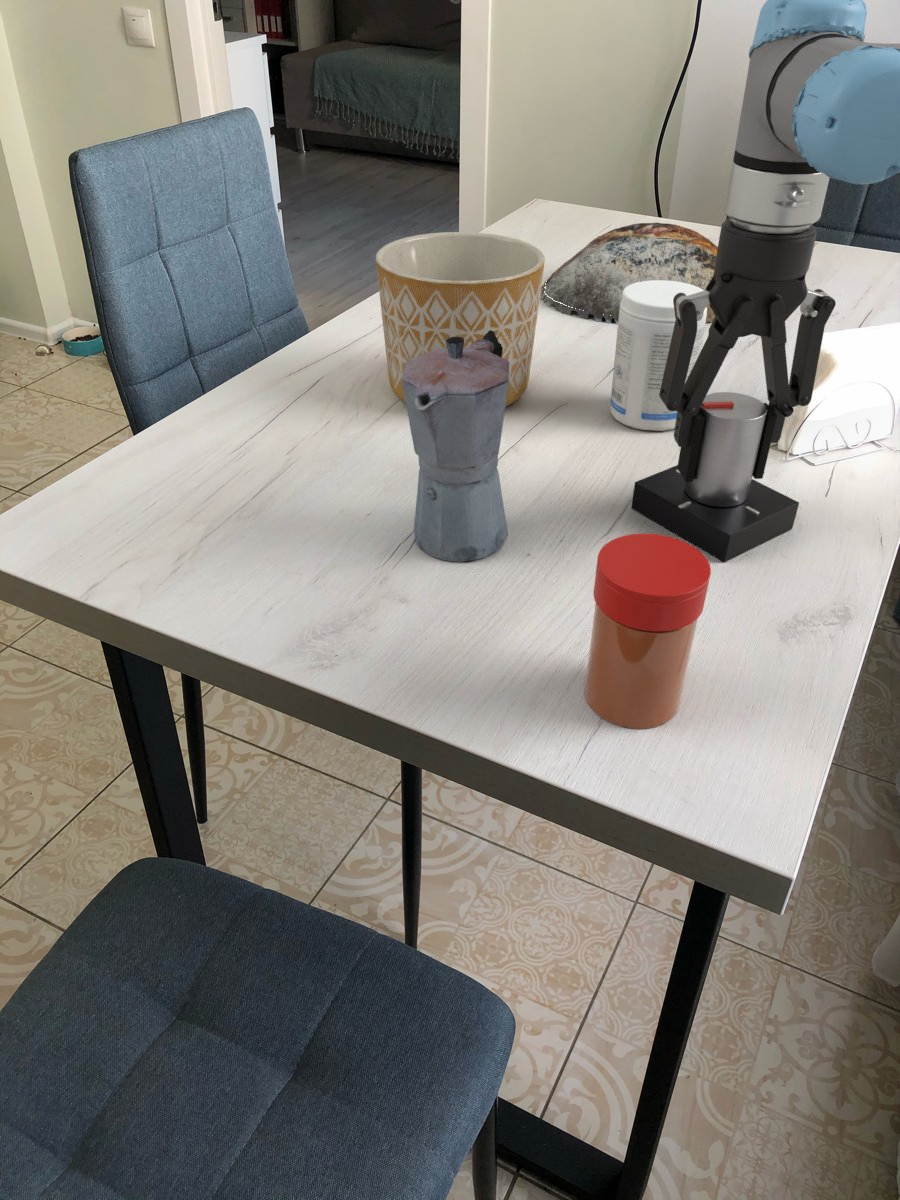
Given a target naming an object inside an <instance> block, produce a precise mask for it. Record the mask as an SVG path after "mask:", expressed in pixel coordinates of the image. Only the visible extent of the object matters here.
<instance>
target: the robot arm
mask: <svg viewBox="0 0 900 1200" xmlns="http://www.w3.org/2000/svg"><path fill="white" fill-rule="evenodd" d="M867 15H868V10H867V6H866V2H865V1H864V0H766V1H765V2H764V3H763V5H762V6H761V8H760V11H759V15H758V19H757V23H756V27H755V31H754V35H753V40H752V44H751V46H750V47H749V50H748V58H749V61H748V70H747V75H746V81H745V87H744V91H743V92H744V94H743V97H742V99H743V100H742V105H741V110H740V111H741V112H740V117H739V123H738V129H737V135H736V140H735V146H734V147H735V148H734V153H733V159H732V164H731V170H730V175H729V180H728V186H727V191H726V197H725V201H724V202H725V203H724V208H723V211H724V213H725V214H726V216H728V217H727V218H726V219H725V220H724V221H722V223H721V226H720V232H719V238H718V244H717V247H718V249H717V255H716V261H715V270H714V275H713V277H712V279H711V281H710V282H709V283H708V285H707V287H706V289H705V291H701V292H698V293H695V294H692V295H688V296H686V295H685V294H684V293H678V294H676V295H675V296H674V299H673V304H674V311H675V319H676V320H675V325H674V330H673V334H672V339H671V343H670V348H669V352H668V357H667V361H666V366H665V370H664V375H663V379H662V384H661V389H660V393H659V396H660V398H661V400H662V401H663V403H664V404H665V406H666V407H667V409H668V410H669V411H677V417H676V423H675V428H674V429H673V430H674V431H673V439H674V441H675V442H676V445H677V446H678V447H680V450H679V455H678V461H677V465H678V467H677V469H678V470H679V472H680V473H681V475H682V477H683V478H684V480H685V482H693V481H694V475H695V470H696V464H697V459H698V453H699V448H700V442H701V437H702V432H703V426H704V421H705V417H704V416H703V415H702V413H701V412H700V410H699V409H700V407H701V405H702V403H703V401H704V399H705V397H706V395H708V393H709V391H710V389H711V387H712V385H713V383H714V381H715V379H716V377H717V375H718V373H719V372H720V369H721V367H722V366H723V363H724V361H725V359H726V357H727V355H728V354H729V352H730V350H732V349H734V348H735V346H736V343H737V342H738V340H739V338H744V337H748V336H751V335H754V336H758V337H760V340H761V348H762V357H763V359H762V360H763V366H764V367H763V368H764V376H765V385H766V386H765V387H766V395H767V401H768V403H767V402H763V403H764V404H765V406H766V408H767V413H766V418H765V422H764V426H763V431H762V435H761V440H760V444H759V449H758V453H757V457H756V462H755V466H754V471H753V475H752V478H754V480H757V479H758V480H760V479H761V480H763V479H764V474H765V471H766V466H767V461H768V457H769V452H770V449H771V444H777V443H778V442H779V441H780V440H781V438H782V433H783V429H784V426H785V425H784V424H785V421H786V418H789V417H791V416H792V415H793V413H794V411H795V408H794V407H798V406H800V407H806V406H808V405H810V403H811V401H812V398H813V393H814V387H815V382H816V376H817V371H818V365H819V359H820V354H821V349H822V345H823V337H824V332H825V327H826V324H827V322H828V320H829V318H830V317H831V315H832V313H833V311H834V309H835V307H836V305H837V304H836V300H835V298H833V297H832V296H831V295H829V294H828V293H827V292H825V291H824V290H823V289H821V288H815V290H812V289H809V288H808V286H807V283H806V275H807V273H808V271H809V269H810V265H811V261H812V256H813V252H814V248H815V243H816V239H817V235H818V231H817V230H816V227H815V226H814V225H813V224H815V223H816V222H818V221H819V220H820V219H821V216H822V212H823V207H824V203H825V199H826V194H827V190H828V186H829V182H830V179H833V180H837V181H842V182H845V183H849V184H853V185H871V184H876V183H880V182H883V181H884V180H887V179H889V178H892V177H893V176H896V174H899V173H900V43H879V42H867V41H865V39H866V35H865V27H866V21H867ZM708 305H710V307H711V309H712V311H713V312H714V314H715V318H714V320H713V322H712V323H710V326H709V328H708V335H707V338H706V339H705V342H704V344H703V345H702V349H701V352H700V354H699V356H698V358H697V360H696V362H695V364H694V366H693V368H692V370H691V372H690V374H689V376H688V379H687V381H686V377H687V372H688V368H689V364H690V360H691V355H692V351H693V347H694V343H695V338H696V334H697V321H700V320H701V319H702V316H703V312H704V309H705V308H706V307H707V306H708ZM799 307H800V308H799ZM798 308H799V311H800V313H801V314H800V317H799V321H798V327H797V333H796V339H795V345H794V352H793V358H792V363H791V370H790V376H789V373H788V363H787V362H788V361H787V350H786V344H787V340H788V339H787V329H786V328H787V327H786V321H787V320H788V319H789V318H790V317H791V316H792V314H793V313H794V312H795V311H796V310H797V309H798ZM685 381H686V383H685Z"/></svg>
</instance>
